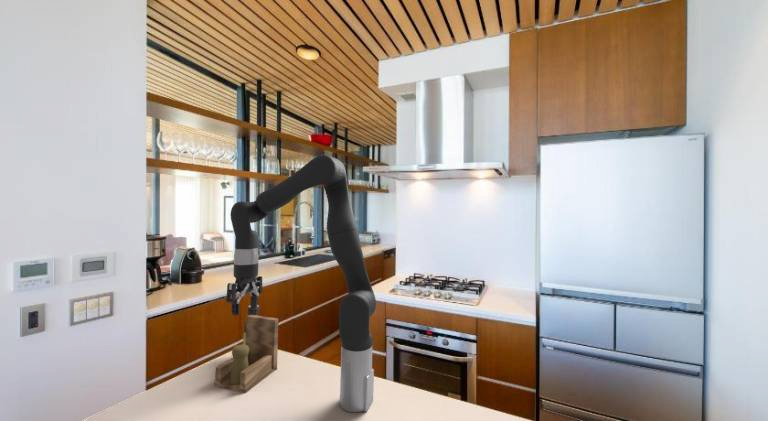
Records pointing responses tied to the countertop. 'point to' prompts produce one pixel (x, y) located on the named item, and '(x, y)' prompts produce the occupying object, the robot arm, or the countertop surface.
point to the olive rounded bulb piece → (239, 362)
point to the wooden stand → (253, 355)
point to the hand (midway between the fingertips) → (245, 311)
